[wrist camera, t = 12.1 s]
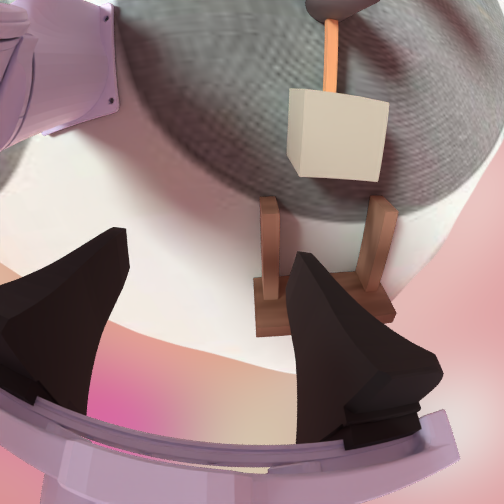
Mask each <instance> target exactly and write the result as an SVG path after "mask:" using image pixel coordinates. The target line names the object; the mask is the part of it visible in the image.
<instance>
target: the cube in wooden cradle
mask: <svg viewBox="0 0 504 504" xmlns="http://www.w3.org/2000/svg"><path fill="white" fill-rule="evenodd" d="M397 216H398V211H397V210H396V209H395V208H394V207H393V206H392V205H391V204H390V203H389V202H388V201H387V200H386V199H385V198H384V197H383V196H377V195H370V199H369V206H368V212H367V218H366V223H365V229H364V234H363V239H362V244H361V249H360V254H359V258H358V263H357V267H356V271H353V272H339V273H330V274H331V275H332V276H333V278H334V279H335V280H336V281H337V282H338V283H339V284H340V285H341V286H342V287H343V288H344V289H345V290H346V292H348V293H349V294H350V295H351V296H352V297H353V298H354V299H355V300H356V301H357V302H358V303H359V304H360V305H361V306H362V307H363V308H364V309H366V310H367V311H368V312H369V313H370V314H371V315H373V316H374V317H375V318H376V319H378V320H379V321H380V322H382V323H383V324H385V323H391V322H393V320H394V318H395V315H396V311H395V309H394V307H393V305H392V303H391V301H390V299H389V298H388V296H387V294H386V292H385V290H384V288H383V286H382V285H381V283H380V280H381V277H382V273H383V270H384V267H385V263H386V260H387V256H388V253H389V249H390V245H391V241H392V237H393V233H394V229H395V225H396V221H397ZM260 224H261V260H262V277H260V278H253V282H254V301H255V321H256V337H271V336H285V335H291V330H290V325H289V320H288V314H287V308H286V289H285V288H286V285H287V282H288V279H289V276H279V243H280V212H279V208H278V205H277V201H276V197H275V196H269V197H260Z"/></svg>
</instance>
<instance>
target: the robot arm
mask: <svg viewBox="0 0 504 504" xmlns="http://www.w3.org/2000/svg"><path fill="white" fill-rule="evenodd" d="M107 17H109V19H108V20H107V21H106V22H105V19H106V18H107ZM111 98H113V99H114V102H113V104H111V103H110V99H111ZM118 110H119V98H118V88H117V78H116V66H115V49H114V6H113V4H111V3H106V4H104V5H101V6H97V5H95V4H92V3H89V2H87V1H84V0H16V1H14V2H12V3H11V4H6V3H0V152H1V151H2V150H4V149H6V148H8V147H10V146H12V145H14V144H16V143H18V142H20V141H23V140H25V139H27V138H29V137H31V136H34V135H36V134H39V133H42V135H44V136H46V135H48V134H51V133H53V132H56V131H59V130H61V129H64V128H67V127H70V126H73V125H76V124H79V123H82V122H85V121H88V120H91V119H95V118H98V117H102V116H105V115H109V114H113V113H115V112H117V111H118ZM129 269H130V264H129V255H128V246H127V235H126V229H125V228H117V227H112V228H110V229H108V230H107V231H105V232H103V233H101V234H100V235H98V236H97V237H95V238H93V239H92V240H90V241H89V242H87V243H85V244H84V245H82V246H81V247H79V248H77V249H76V250H74V251H72V252H71V253H69V254H67V255H66V256H64V257H62V258H61V259H59V260H57V261H55V262H54V263H52V264H50V265H48V266H46V267H44V268H42V269H40V270H38V271H36V272H33V273H31V274H29V275H26V276H24V277H22V278H19V279H17V280H14V281H11V282H8V283H5V284H2V285H0V445H1V446H2V447H4V448H5V449H7V450H8V451H10V452H11V453H12V454H14V455H16V456H17V457H19V458H20V459H22V460H23V461H25V462H26V463H28V464H30V465H31V466H33V467H35V468H36V469H38V470H40V471H42V472H43V473H45V475H44V480H43V486H42V493H41V499H40V504H360V503H363V502H367V501H370V500H373V499H376V498H379V497H382V496H384V495H387V494H390V493H392V492H395V491H397V490H400V489H402V488H405V487H407V486H409V485H412V484H414V483H416V482H418V481H420V480H423V479H425V478H427V477H429V476H431V475H433V474H435V473H437V472H439V471H441V470H443V469H444V468H446V467H448V466H450V465H452V464H454V463H456V462H457V461H459V460H460V456H459V452H458V449H457V445H456V442H455V439H454V436H453V432H452V429H451V426H450V423H449V420H448V417H447V414H446V411H445V410H444V409H442V410H439V411H436V412H433V413H430V414H427V415H424V416H423V417H420V418H418V415H417V412H418V411H420V409H421V407H420V404H419V401H420V400H421V399H422V398H424V397H425V396H426V395H427V394H428V393H429V392H431V391H432V390H433V389H434V388H435V387H436V386H437V385H438V384H439V382H440V381H441V380H442V377H443V374H444V373H443V371H442V368H441V366H440V364H439V361H438V359H437V357H436V355H435V354H433V353H432V352H430V351H428V350H425V349H424V348H422V347H420V346H417V345H416V344H414V343H412V342H410V341H409V340H407V339H405V338H404V337H402V336H400V335H399V334H397V333H396V332H394V331H393V330H391V329H390V328H389V327H387V326H386V325H384V324H383V323H382V322H380V321H379V320H378V319H376V318H375V317H374V316H373V315H371V314H370V313H369V312H368V311H367V310H366V309H364V308H363V307H362V306H361V305H360V304H359V303H358V302H357V301H356V300H355V299H354V298H353V297H352V296H351V295H350V294H349V293H348V292H346V290H345V289H344V288H343V287H342V286H341V285H340V284H339V283H338V282H337V281H336V280H335V279H334V278H333V276H332V275H331V274H330V273H329V272H328V271H327V270H326V269H325V267H324V266H323V265H322V264H321V263H320V262H319V261H318V260H317V259H316V257H315V256H314V255H313V254H312V253H306V252H298V251H297V255H296V258H295V261H294V264H293V267H292V270H291V273H290V276H289V279H288V282H287V285H286V288H285V289H286V308H287V314H288V320H289V325H290V330H291V336H292V341H293V346H294V352H295V359H296V374H297V432H296V433H297V434H296V444H291V445H238V444H221V443H210V442H209V443H208V442H200V441H192V440H185V439H178V438H172V437H165V436H161V435H155V434H150V433H146V432H141V431H137V430H132V429H129V428H125V427H120V426H117V425H114V424H110V423H107V422H104V421H100V420H97V419H94V418H91V417H88V416H86V414H87V413H86V412H87V401H88V393H89V386H90V380H91V375H92V369H93V365H94V361H95V356H96V352H97V349H98V345H99V342H100V338H101V335H102V332H103V330H104V327H105V325H106V323H107V321H108V318H109V316H110V314H111V312H112V310H113V308H114V305H115V303H116V301H117V299H118V297H119V295H120V293H121V291H122V289H123V286H124V284H125V281H126V278H127V275H128V272H129ZM81 436H82V437H81ZM83 437H84V438H83ZM85 438H87V439H85ZM88 439H90V440H93V441H96V442H99V443H102V444H105V445H108V446H112V447H115V448H119V449H122V450H126V451H130V452H134V453H138V454H143V455H147V456H151V457H156V458H161V459H167V460H173V461H179V462H186V463H194V464H203V465H213V466H228V467H270V468H269V469H268V473H266V474H257V473H256V474H255V473H243V472H237V471H231V470H221V469H211V468H202V467H194V466H186V465H179V464H173V463H167V462H161V461H156V460H151V459H146V458H142V457H137V456H134V455H130V454H126V453H122V452H119V451H115V450H112V449H108V448H105V447H102V446H99V445H96V444H93V443H92V442H91V441H90V440H88Z"/></svg>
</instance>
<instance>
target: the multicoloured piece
mask: <svg viewBox="0 0 504 504" xmlns="http://www.w3.org/2000/svg"><path fill="white" fill-rule="evenodd" d="M379 1H380V0H306V2H305V6H306V9H307V11H308V13H309V14H310V15H311V16H312V17H313V18H314V19H316V20H317V21H319V22H322V23H325V52H324V80H323V91H318V90H309V89H291V88H289V114H288V135H287V154H286V155H287V156H288V158H289V160H290V161H291V163H292V165H293V167H294V168H295V170H296V172H297V173H298V175H299V177H318V178H335V179H349V180H362V181H373V182H378V179H379V173H380V168H381V162H382V156H383V150H384V143H385V136H386V128H387V120H388V111H389V103H387V102H383V101H378V100H374V99H369V98H364V97H358V96H353V95H347V94H340V93H336V84H337V62H338V23H339V22H341V21H342V20H344V19H346V18H348V17H350V16H351V15H353V14H355V13H357V12H359V11H361V10H363V9H365V8H367V7H369V6H371V5H373V4H375V3H377V2H379Z"/></svg>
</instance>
